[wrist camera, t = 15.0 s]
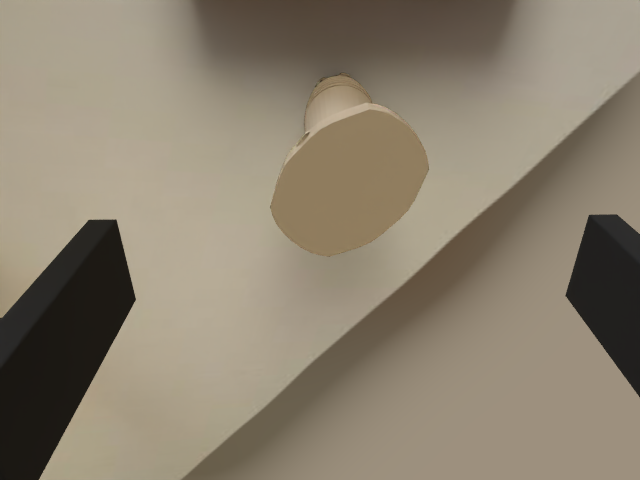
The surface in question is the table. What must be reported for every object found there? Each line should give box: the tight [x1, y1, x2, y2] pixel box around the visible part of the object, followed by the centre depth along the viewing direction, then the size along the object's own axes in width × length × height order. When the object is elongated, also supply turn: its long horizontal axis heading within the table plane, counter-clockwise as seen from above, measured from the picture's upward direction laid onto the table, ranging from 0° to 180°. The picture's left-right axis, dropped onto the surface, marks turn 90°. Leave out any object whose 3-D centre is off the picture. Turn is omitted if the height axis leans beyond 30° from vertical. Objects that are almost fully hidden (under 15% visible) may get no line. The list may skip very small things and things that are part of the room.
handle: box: [270, 73, 429, 257], centre depth 25 cm, size 5×6×15 cm
